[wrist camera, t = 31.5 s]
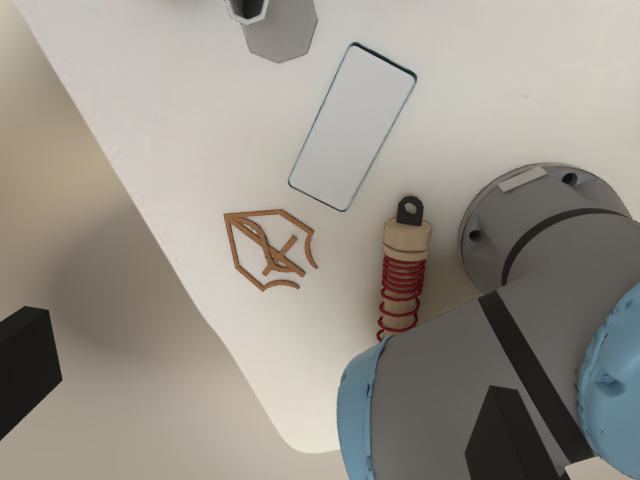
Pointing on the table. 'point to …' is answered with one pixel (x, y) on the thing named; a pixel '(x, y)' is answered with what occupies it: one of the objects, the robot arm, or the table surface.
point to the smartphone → (351, 126)
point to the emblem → (267, 246)
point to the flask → (275, 26)
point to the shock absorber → (403, 268)
